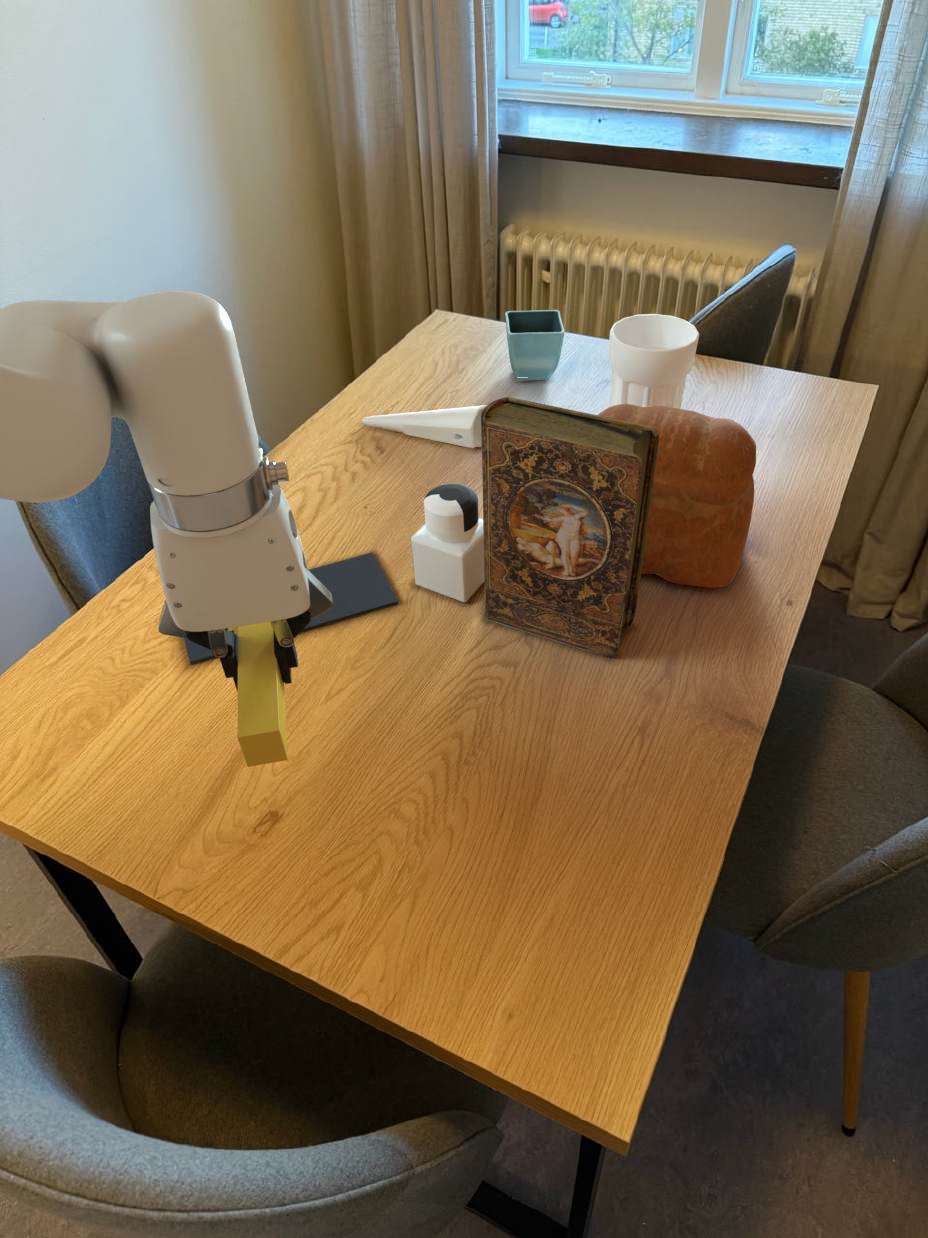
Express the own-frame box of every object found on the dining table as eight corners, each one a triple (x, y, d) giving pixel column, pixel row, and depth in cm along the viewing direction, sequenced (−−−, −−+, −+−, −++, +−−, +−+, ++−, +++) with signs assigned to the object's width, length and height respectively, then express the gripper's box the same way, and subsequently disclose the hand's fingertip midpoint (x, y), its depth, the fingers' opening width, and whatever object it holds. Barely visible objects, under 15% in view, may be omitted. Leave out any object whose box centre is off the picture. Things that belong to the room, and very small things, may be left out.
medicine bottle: (445, 552, 103) (440, 470, 95) (495, 569, 101) (494, 486, 92) (414, 585, 99) (405, 501, 91) (465, 604, 96) (461, 520, 88)
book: (478, 617, 94) (472, 420, 77) (498, 588, 98) (497, 394, 81) (617, 660, 89) (643, 458, 72) (633, 628, 92) (662, 428, 75)
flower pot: (556, 361, 140) (559, 308, 134) (562, 386, 134) (565, 332, 128) (504, 363, 140) (504, 310, 134) (507, 388, 134) (507, 334, 128)
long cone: (385, 416, 132) (494, 430, 124) (364, 439, 128) (475, 455, 120) (376, 384, 128) (488, 396, 120) (354, 407, 124) (468, 421, 116)
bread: (730, 607, 94) (762, 482, 83) (548, 569, 100) (554, 447, 89) (750, 520, 106) (779, 400, 95) (586, 490, 112) (595, 374, 101)
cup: (662, 478, 114) (680, 358, 102) (586, 457, 118) (595, 339, 106) (691, 440, 120) (711, 323, 109) (619, 421, 125) (631, 307, 113)
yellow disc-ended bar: (308, 756, 62) (300, 726, 60) (226, 771, 62) (215, 741, 59) (296, 601, 75) (289, 571, 73) (229, 611, 75) (220, 581, 72)
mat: (190, 664, 91) (189, 662, 90) (177, 608, 97) (176, 605, 97) (398, 603, 97) (398, 600, 96) (372, 554, 104) (372, 552, 103)
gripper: (329, 443, 60) (359, 629, 72) (92, 473, 58) (165, 659, 70) (337, 502, 54) (368, 692, 67) (76, 538, 52) (159, 726, 65)
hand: (264, 673), depth 68 cm, fingers closed on yellow disc-ended bar, 3 cm apart
